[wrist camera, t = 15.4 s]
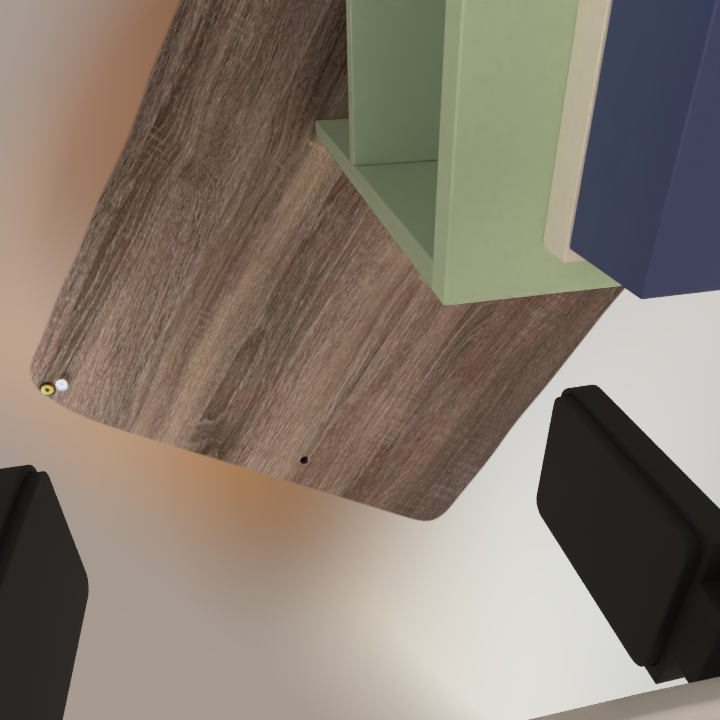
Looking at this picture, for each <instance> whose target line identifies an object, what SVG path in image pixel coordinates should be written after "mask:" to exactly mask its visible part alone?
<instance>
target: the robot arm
mask: <svg viewBox="0 0 720 720" xmlns="http://www.w3.org/2000/svg"><path fill="white" fill-rule="evenodd" d="M537 507H538V510H539V513H540V515H541V517H542V518H543V520H544V521H545V523H546V525H547V526H548V528H549V529H550V531H551V533H552V534H553V536H554V537H555V539H556V540H557V542H558V543H559V545H560V546H561V548H562V550H563V551H564V553H565V555H566V556H567V558H568V559H569V561H570V562H571V564H572V566H573V567H574V569H575V570H576V572H577V574H578V575H579V576H580V578H581V580H582V581H583V583H584V584H585V586H586V588H587V589H588V591H589V592H590V594H591V596H592V597H593V599H594V600H595V602H596V603H597V605H598V607H599V608H600V610H601V611H602V613H603V614H604V616H605V618H606V619H607V621H608V622H609V624H610V626H611V627H612V629H613V630H614V632H615V633H616V635H617V637H618V638H619V640H620V641H621V643H622V645H623V646H624V648H625V649H626V651H627V652H628V654H629V656H630V657H631V658H632V660H633V661H634V662H635V663H636V664H637V665H638V666H641V667H642V666H645V668H646V669H647V671H648V673H649V674H650V676H651V677H652V679H653V680H654V682H655V683H656V684H658V683H663V682H666V681H671V680H674V679H679V678H683V677H685V678H686V680H687V681H688V684H684V685H679V686H674V687H670V688H665V689H660V690H656V691H651V692H646V693H642V694H637V695H633V696H629V697H624V698H620V699H616V700H612V701H607V702H603V703H599V704H594V705H590V706H586V707H582V708H578V709H573V710H569V711H565V712H560V713H556V714H552V715H548V716H543V717H539V718H535V719H530V720H720V509H719V508H718V507H717V506H716V505H715V504H714V503H713V502H712V501H711V500H710V499H709V498H708V497H707V496H706V495H705V494H704V493H703V492H702V491H701V489H700V488H699V487H698V486H696V485H695V483H694V482H692V480H691V479H689V477H688V476H687V475H686V474H685V473H684V472H682V470H681V469H680V468H679V467H678V466H677V465H676V464H675V463H674V462H673V461H672V460H671V459H670V458H669V457H668V456H667V455H666V454H665V453H664V452H663V451H662V450H661V449H660V448H659V447H658V446H657V445H656V444H655V443H654V442H653V441H652V440H651V439H650V438H649V437H648V436H647V435H646V434H645V433H644V432H643V431H642V430H641V429H640V428H639V427H638V426H637V425H636V424H635V423H634V422H633V421H632V420H631V419H630V418H629V417H628V416H627V415H626V414H625V413H624V412H623V411H622V410H621V409H620V408H619V407H618V406H617V405H616V404H615V403H614V402H613V401H612V400H611V399H610V398H609V397H608V396H607V395H606V394H605V393H604V392H603V391H602V390H601V389H600V388H599V387H597V386H596V385H587V386H580V387H573V388H567V389H565V390H564V391H563V392H562V395H561V397H558V398H556V400H555V402H554V406H553V411H552V417H551V423H550V427H549V433H548V439H547V444H546V449H545V455H544V460H543V465H542V470H541V476H540V481H539V487H538V492H537ZM87 599H88V578H87V575H86V572H85V569H84V566H83V564H82V561H81V559H80V556H79V553H78V551H77V548H76V546H75V543H74V540H73V538H72V535H71V533H70V530H69V528H68V525H67V522H66V519H65V517H64V514H63V512H62V509H61V506H60V504H59V501H58V499H57V496H56V494H55V491H54V488H53V486H52V483H51V481H50V478H49V476H48V474H47V473H46V472H44V471H43V472H37V471H36V469H35V468H34V467H33V466H32V465H24V466H17V467H10V468H3V469H0V720H63V715H64V711H65V706H66V701H67V695H68V690H69V686H70V681H71V677H72V672H73V667H74V662H75V657H76V652H77V647H78V643H79V638H80V633H81V627H82V623H83V618H84V613H85V608H86V604H87Z"/></svg>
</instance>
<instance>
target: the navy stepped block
mask: <svg viewBox="0 0 720 720" xmlns="http://www.w3.org/2000/svg"><path fill="white" fill-rule="evenodd" d="M543 247H544V248H545V249H546V250H548V251H549V252H550V253H552V254H553V255H554V256H556V257H557V258H558V259H560V260H561V261H562V262H564V263H565V262H575V261H585V260H586V261H588V262H589V263H591V264H592V265H594V266H595V267H596V268H598V269H599V270H601V271H602V272H603V273H605V274H606V275H608V276H609V277H611V278H612V279H613V280H615V281H616V282H618V283H619V284H621V285H622V286H623V287H625V288H626V289H628V290H629V291H630V292H632V293H633V294H635V295H636V296H638V297H639V298H641V299H648V298H656V297H664V296H673V295H681V294H690V293H699V292H707V291H715V290H720V0H579V4H578V11H577V17H576V24H575V31H574V38H573V44H572V51H571V58H570V64H569V71H568V78H567V85H566V91H565V98H564V105H563V111H562V118H561V125H560V131H559V138H558V145H557V152H556V158H555V165H554V172H553V178H552V185H551V192H550V198H549V205H548V212H547V219H546V225H545V232H544V239H543Z"/></svg>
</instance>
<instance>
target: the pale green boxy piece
mask: <svg viewBox="0 0 720 720" xmlns="http://www.w3.org/2000/svg"><path fill="white" fill-rule="evenodd" d="M578 4H579V0H346V22H347V61H348V100H349V119H333V120H316V121H315V125H316V136H317V137H318V139H319V140H320V141H321V143H322V144H323V145H324V147H325V148H326V149H327V151H328V152H329V153H330V155H331V156H332V157H333V159H334V160H335V161H336V163H337V164H338V165H339V167H340V168H341V169H342V171H343V172H344V173H345V175H346V176H347V177H348V179H349V180H350V181H351V183H352V184H353V185H354V187H355V188H356V189H357V191H358V192H359V193H360V195H361V196H362V197H363V199H364V200H365V201H366V203H367V204H368V205H369V207H370V208H371V209H372V211H373V212H374V213H375V215H376V216H377V217H378V219H379V220H380V221H381V223H382V224H383V225H384V227H385V228H386V229H387V231H388V232H389V233H390V235H391V236H392V237H393V239H394V240H395V241H396V243H397V244H398V245H399V247H400V248H401V249H402V251H403V252H404V253H405V255H406V256H407V257H408V259H409V260H410V261H411V263H412V264H413V265H414V267H415V268H416V269H417V271H418V272H419V273H420V275H421V276H422V277H423V279H424V280H425V281H426V283H427V284H428V285H429V287H430V288H431V289H432V290H433V292H434V293H435V294H436V296H437V297H438V298H439V300H440V301H441V302H442V304H443V305H455V304H463V303H472V302H481V301H490V300H499V299H508V298H517V297H526V296H534V295H543V294H552V293H561V292H570V291H579V290H588V289H597V288H606V287H614V286H622V285H621V284H619V283H618V282H616V281H615V280H613V279H612V278H611V277H609V276H608V275H606V274H605V273H603V272H602V271H601V270H599V269H598V268H596V267H595V266H594V265H592V264H591V263H589V262H588V261H586V260H585V261H575V262H565V263H564V262H562V261H561V260H560V259H558V258H557V257H556V256H554V255H553V254H552V253H550V252H549V251H548V250H546V249H545V248H544V247H543V239H544V232H545V225H546V219H547V212H548V205H549V198H550V192H551V185H552V178H553V172H554V165H555V158H556V152H557V145H558V138H559V131H560V125H561V118H562V111H563V105H564V98H565V91H566V85H567V78H568V71H569V64H570V58H571V51H572V44H573V38H574V31H575V24H576V17H577V11H578Z"/></svg>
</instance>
